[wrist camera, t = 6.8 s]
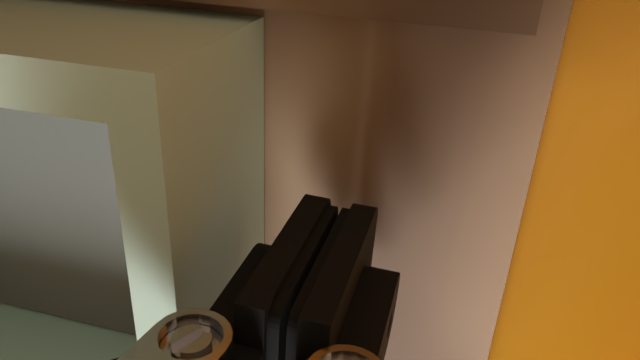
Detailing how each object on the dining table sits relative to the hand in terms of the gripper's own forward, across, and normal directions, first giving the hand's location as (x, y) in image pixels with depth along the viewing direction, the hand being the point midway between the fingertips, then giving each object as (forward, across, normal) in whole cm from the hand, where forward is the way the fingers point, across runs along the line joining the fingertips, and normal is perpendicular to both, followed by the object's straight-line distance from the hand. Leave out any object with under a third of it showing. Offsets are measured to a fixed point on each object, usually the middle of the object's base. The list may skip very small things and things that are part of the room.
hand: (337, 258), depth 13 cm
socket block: (+1, +7, 0) cm, 7 cm away
